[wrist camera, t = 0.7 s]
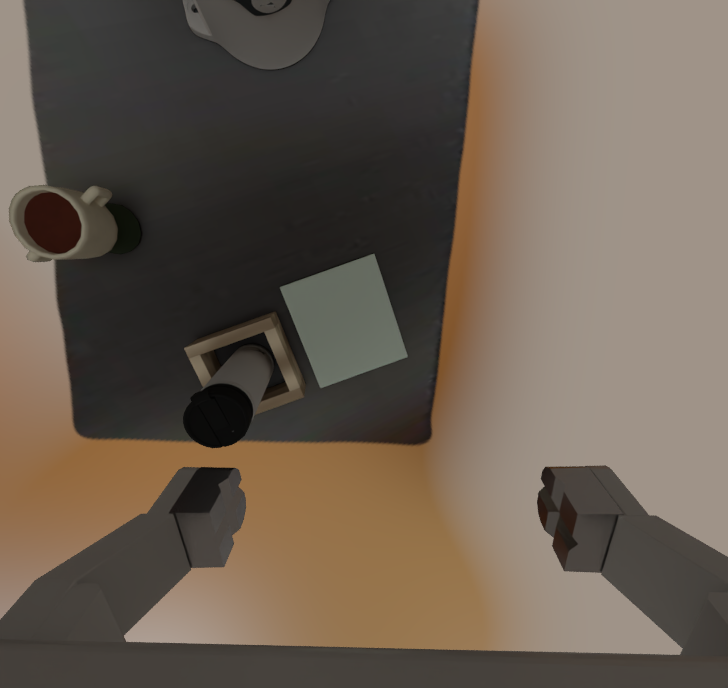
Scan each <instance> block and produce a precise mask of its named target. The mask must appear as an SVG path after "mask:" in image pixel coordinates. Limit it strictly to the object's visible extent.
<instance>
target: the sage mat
mask: <svg viewBox="0 0 728 688" xmlns="http://www.w3.org/2000/svg"><path fill="white" fill-rule="evenodd" d="M280 289H281V292H282V294H283V297H284V299H285V302H286V304H287V307H288V309H289V312H290V314H291V317H292V319H293V322H294V324H295V327H296V329H297V331H298V334H299V336H300V339H301V341H302V344H303V346H304V349H305V351H306V354H307V356H308V359H309V361H310V364H311V366H312V369H313V371H314V374H315V376H316V379H317V381H318V383H319V386H320V388H323V387H325V386H328V385H331V384H334V383H336V382H339V381H342V380H345V379H348V378H350V377H353V376H356V375H359V374H362V373H364V372H367V371H370V370H373V369H375V368H378V367H381V366H384V365H387V364H389V363H392V362H395V361H398V360H400V359H403V358H406V357H408V356H407V353H406V350H405V347H404V343H403V340H402V337H401V334H400V331H399V328H398V325H397V322H396V319H395V316H394V313H393V310H392V307H391V304H390V300H389V297H388V294H387V291H386V288H385V285H384V282H383V279H382V276H381V273H380V270H379V267H378V264H377V260H376V257H375V254H371V255H368V256H366V257H363V258H360V259H357V260H354V261H351V262H349V263H346V264H343V265H340V266H337V267H335V268H332V269H329V270H326V271H323V272H321V273H318V274H315V275H312V276H309V277H307V278H304V279H301V280H298V281H295V282H293V283H290V284H287V285H284V286H281V287H280Z"/></svg>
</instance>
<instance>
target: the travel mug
mask: <svg viewBox="0 0 728 688" xmlns="http://www.w3.org/2000/svg"><path fill="white" fill-rule="evenodd" d="M274 367H275V363H274V358H273V356H272V354H271V353H270V352H269V350H268V349H266V348H265V347H263V346H261V345H258V344H246V345H243V346H241V347H240V348H238V349H237V350H236V351H235V352H234V353H233V355H232V356H231V357H230V358H229V359H228V360H227V361H226V362H225V364H224V365H223V366H222V367H221V368H220V369H219V370H218V371H217V373H216V374H215V375H214V376H213V377H212V378H211V379H210V380H209V382H208V383H207V384H206V385H205V386H204V387H203V388H202V390H201V391H200V392H197V393H195V394H194V395H193V396H192V397H191V401H192V402H191V403H190V404H189V405H188V407H187V408H186V410H185V412H184V416H183V424H184V427H185V430H186V432H187V433H188V435H189V436H190V437H191V438H192V439H193V440H194V441H195V442H197V443H199V444H201V445H203V446H206V447H210V448H220V447H222V446H225V447H226V446H229V445H232V444H234V443H236V442H237V441H239V440H240V439H241V438H242V437H244V436H245V434H246V432H247V430H248V428H249V425H250V424H251V422H252V420H253V418H254V415H255V413H256V411H257V408H258V406H259V404H260V401H261V399H262V397H263V394H264V392H265V390H266V388H267V385H268V383H269V381H270V378H271V376H272V374H273V371H274Z"/></svg>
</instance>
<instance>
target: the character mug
mask: <svg viewBox="0 0 728 688" xmlns="http://www.w3.org/2000/svg"><path fill="white" fill-rule="evenodd" d="M111 197H112V193H111V191H110V190H108V189H106V188H102V187H98V186H91V187H90V188H89V189H87V191H86V192H85V193H83V192H80V191H75V190H71V189H67V188H60V187H52V186H47V185H39V186H29V187H26V188H24V189H22V190H20V191H19V192H18V193H17V194H15V196H14V198H13V199H12V201H11V204H10V207H9V222H10V224H11V227H12V229H13V232H14V234H15V236H16V237H17V239H18V240H19V241H20V242H21V244H22V245H23V246H24V247H25V248H26V249H28V250H29V253H28V254H27V256H26V257H27V260H30V261H33V262H45V261H51V260H52V259H55V260H63V259H87V258H93V257H100V256H102V255H104V254H106V253H107V252H110V253H117V254H123V253H126V252H130V251H132V250H133V249H134V248H135V247H136V246H137V245H138V244H139V240H140V236H141V231H140V227H139V223H138V221H137V219H136V218H135V217H134V215H133V214H132V212H131V211H129V210H128V209H126V208H125V207H123V206H122V205H116V204H110V203H107V202H108V201H109V200H110V198H111Z"/></svg>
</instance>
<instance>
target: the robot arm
mask: <svg viewBox="0 0 728 688" xmlns="http://www.w3.org/2000/svg"><path fill="white" fill-rule="evenodd" d="M329 1H330V0H183V4H184V9H185V13H186V18H187V22H188V24H189V27H190V29H191V31H192V32H193V33H194V34H196V35H197V36H199V37H201V38H204V39H207V40H210V41H213V42H216V43H218V44H219V45H221V46H222V47H223V48H224V49H225V50H227V51H228V52H229V53H230V54H231V55H233V56H234V57H235V58H237V59H238V60H240V61H241V62H243V63H245V64H247V65H250V66H253V67H256V68H260V69H269V70H272V69H281V68H285V67H288V66H290V65H292V64H294V63H296V62H298V61H299V60H301V59H302V58H303V57H304V56H306V55H307V54H308V53H309V51H310V50H311V49H312V48H313V46H314V45H315V43H316V41H317V40H318V37H319V35H320V33H321V30H322V27H323V23H324V18H325V13H326V9H327V6H328V3H329ZM195 8H197V10H198V12H197V13H194V12H193V10H194V9H195ZM541 480H542V482H543V484H544V485H545V487H544V488H543V489H541V491H539V493H538V500H537V505H538V514H539V517H540V521H541V523H542V526H543V528H544V530H545V531H546V532H547V533H549V534H550V535H551V536H552V537H554V540H553V545H552V546H553V549H554V551H555V553H556V555H557V557H558V559H559V561H560V563H561V565H562V567H563V570H564V571H574V572H598V573H602V575H603V576H604V577H605V578H606V579H607V580H608V581H609V582H610V583H611V584H612V585H613V586H615V587H616V588H617V589H618V590H619V591H620V592H621V593H622V594H623V595H624V596H626V597H627V598H628V599H629V600H630V601H631V602H632V603H633V604H634V605H636V606H637V607H638V608H639V609H640V610H641V611H642V612H643V613H644V614H645V615H646V616H648V617H649V618H650V619H651V620H652V621H653V622H654V623H655V624H656V625H658V626H659V627H660V628H661V629H662V630H663V631H664V632H665V633H666V634H668V636H670V637H671V638H672V639H673V640H674V641H675V642H676V643H677V644H678V645H680V646H681V647H682V648H683V649H682V652H681V654H680V655H655V654H612V653H611V654H610V653H571V652H569V653H568V652H525V651H523V652H522V651H478V650H476V651H475V650H434V649H394V648H353V647H351V648H350V647H313V646H312V647H311V646H271V645H230V644H229V645H228V644H187V643H144V642H126V640H125V638H124V635H125V634H126V633H127V632H128V631H129V630H130V629H131V628H132V627H133V626H134V625H135V624H136V623H137V622H138V621H139V620H140V619H141V618H142V617H143V616H144V615H145V614H146V613H147V612H148V611H149V610H150V609H151V608H152V607H153V606H154V605H155V604H156V603H158V602H159V601H160V599H162V598H163V597H164V596H165V595H166V594H167V593H168V592H169V591H170V590H171V589H172V588H173V587H174V586H175V585H176V584H177V583H178V582H179V581H180V580H181V579H182V578H183V577H184V576H185V575H186V574H187V573H188V572H189V571H190V570H191V568H204V567H224V566H225V564H226V561H227V559H228V557H229V554H230V552H231V549H232V547H233V545H234V542H233V538H232V535H233V534H234V533H235V532H237V531H238V530H239V529H240V528H241V525H242V523H243V520H244V515H245V509H246V499H245V494H244V492H243V491H242V490H241V489H240V488H239V487H238V486H239V484H240V481H241V476H240V472H239V470H238V469H236V468H212V467H211V468H210V467H201V468H195V467H193V468H192V467H183V468H182V469H179V470H178V471H177V473H176V474H175V475H174V477H173V478H172V480H171V481H170V482H169V484H168V485H167V486H166V488H165V489H164V491H163V492H162V493H161V495H160V496H159V498H158V499H157V500H156V502H155V503H154V504H153V506H152V507H151V509H150V510H149V511H148V513H147V514H140V515H139V516H137V517H135V518H134V519H132V520H130V521H129V522H127V523H126V524H124V525H123V526H121V527H119V528H118V529H116V530H115V531H113V532H112V533H110V534H108V535H107V536H105V537H104V538H102V539H100V540H99V541H97V542H96V543H94V544H92V545H91V546H89V547H87V548H86V549H84V550H83V551H81V552H80V553H78V554H77V555H75V556H73V557H72V558H70V559H68V560H67V561H65V562H64V563H62V564H60V565H59V566H57V567H56V568H54V569H53V570H51V571H49V572H48V573H46V574H44V575H43V576H41V577H40V578H38V579H37V580H35V581H34V582H33V583H32V584H31V586H30V587H29V588H28V589H27V590H26V591H25V592H24V593H23V595H22V596H21V597H20V598H19V599H18V600H17V602H16V603H15V604H14V605H13V606H12V607H11V608H10V610H8V612H7V613H6V614H5V615H4V616H3V617H2V618H1V620H0V688H728V557H727V556H725V555H723V554H722V553H720V552H718V551H716V550H715V549H713V548H711V547H709V546H708V545H706V544H704V543H703V542H701V541H699V540H697V539H696V538H694V537H692V536H690V535H689V534H687V533H685V532H683V531H682V530H680V529H678V528H676V527H675V526H673V525H671V524H669V523H668V522H666V521H664V520H663V519H661V518H659V517H657V516H649V515H648V514H647V512H646V511H645V510H644V509H643V507H642V506H641V505H640V504H639V502H638V501H637V500H636V499H635V498H634V496H633V495H632V494H631V493H630V491H629V490H628V489H627V488H626V487H625V485H624V484H623V483H622V482H621V481H620V479H619V478H618V477H617V476H616V474H615V473H614V472H613V471H612V470H611V469H610V468H609V467H607V466H585V467H583V466H579V467H545V468H544V470H543V471H542V476H541Z"/></svg>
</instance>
